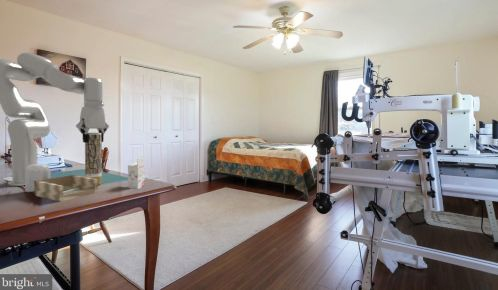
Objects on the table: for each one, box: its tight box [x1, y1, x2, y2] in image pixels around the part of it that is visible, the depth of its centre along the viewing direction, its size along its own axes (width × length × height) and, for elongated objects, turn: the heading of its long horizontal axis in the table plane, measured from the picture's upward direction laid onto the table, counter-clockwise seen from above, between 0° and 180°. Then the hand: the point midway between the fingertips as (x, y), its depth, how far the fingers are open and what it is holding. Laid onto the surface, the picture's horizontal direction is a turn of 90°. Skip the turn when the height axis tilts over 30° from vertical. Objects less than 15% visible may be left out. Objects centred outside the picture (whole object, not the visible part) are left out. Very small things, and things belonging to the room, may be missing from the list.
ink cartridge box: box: [127, 157, 146, 190], centre depth 128 cm, size 9×5×15 cm, turn 0°
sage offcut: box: [63, 188, 80, 194], centre depth 109 cm, size 3×10×2 cm
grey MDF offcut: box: [63, 189, 88, 195], centre depth 108 cm, size 3×10×2 cm, turn 159°
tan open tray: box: [33, 174, 99, 202], centre depth 109 cm, size 16×15×7 cm
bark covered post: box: [84, 132, 103, 186], centre depth 125 cm, size 7×7×25 cm
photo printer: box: [24, 163, 52, 193], centre depth 114 cm, size 10×4×12 cm, turn 81°
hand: (93, 141), depth 125 cm, fingers closed on bark covered post, 6 cm apart
